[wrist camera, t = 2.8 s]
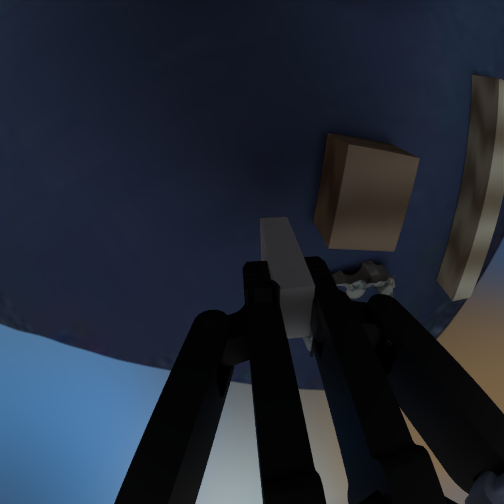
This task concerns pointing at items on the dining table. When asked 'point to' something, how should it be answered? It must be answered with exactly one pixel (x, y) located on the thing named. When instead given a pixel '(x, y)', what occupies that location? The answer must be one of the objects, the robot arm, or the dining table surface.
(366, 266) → the egg carton
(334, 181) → the block
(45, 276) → the dining table surface
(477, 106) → the board
